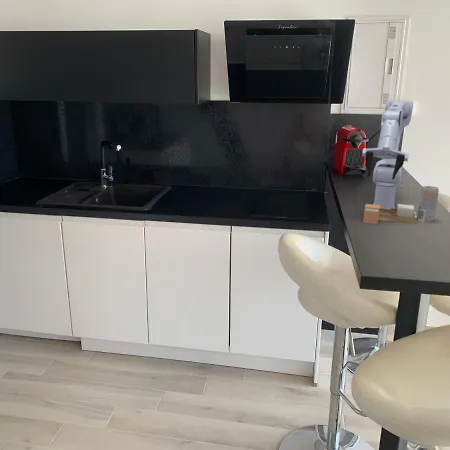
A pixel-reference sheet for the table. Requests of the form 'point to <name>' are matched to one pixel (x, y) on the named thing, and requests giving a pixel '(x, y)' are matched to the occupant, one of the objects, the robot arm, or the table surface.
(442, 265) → the table surface
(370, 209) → the brown cardboard box
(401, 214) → the white foam cube
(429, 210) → the energy drink
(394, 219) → the light wooden tray
